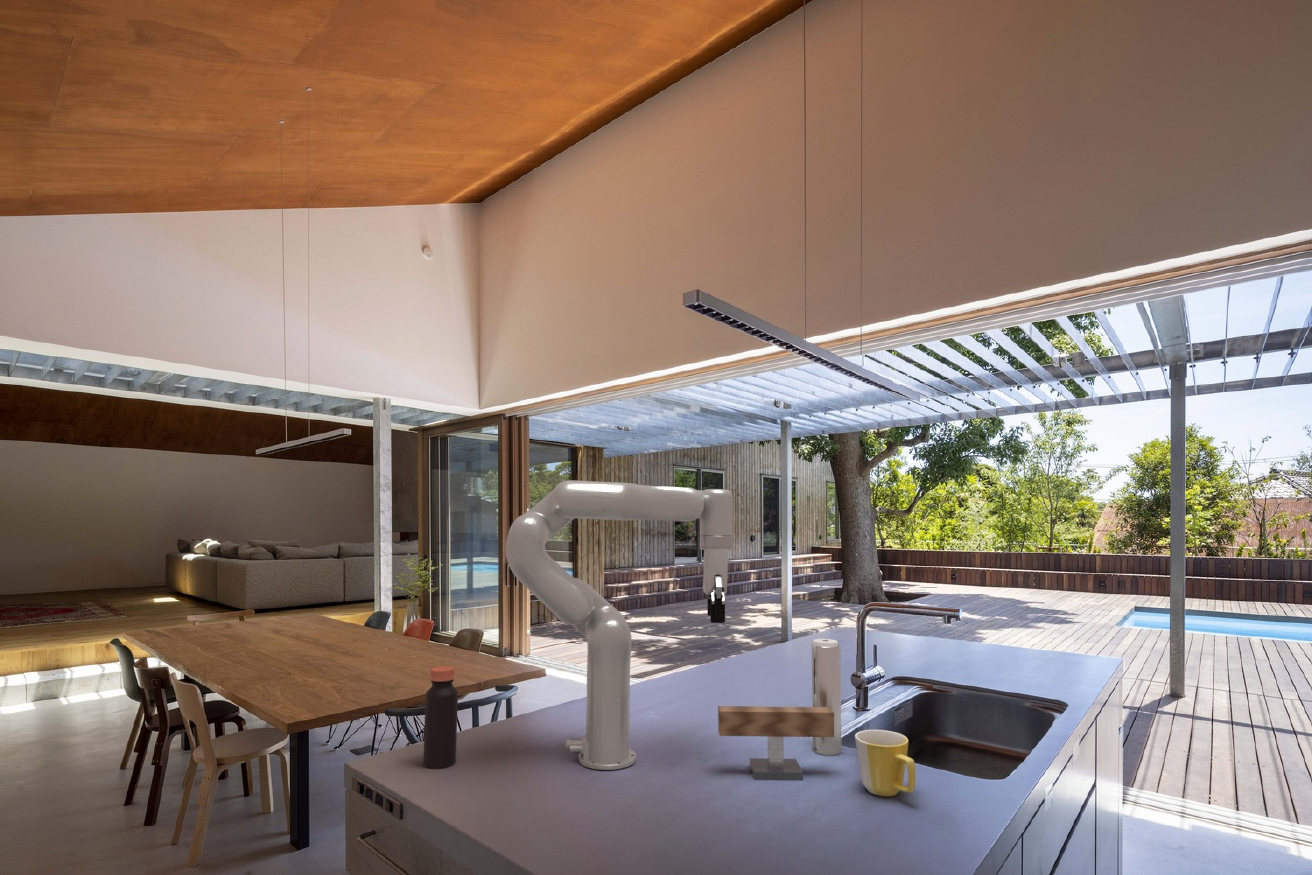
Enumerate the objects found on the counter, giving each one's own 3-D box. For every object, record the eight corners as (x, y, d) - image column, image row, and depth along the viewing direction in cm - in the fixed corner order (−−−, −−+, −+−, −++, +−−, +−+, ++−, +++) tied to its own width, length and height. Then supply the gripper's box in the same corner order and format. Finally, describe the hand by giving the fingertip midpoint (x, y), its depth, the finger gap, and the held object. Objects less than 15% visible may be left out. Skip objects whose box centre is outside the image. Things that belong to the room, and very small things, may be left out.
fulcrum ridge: (754, 779, 151) (754, 739, 152) (749, 765, 159) (749, 727, 160) (803, 779, 151) (802, 739, 152) (795, 765, 159) (795, 727, 160)
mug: (846, 783, 150) (846, 730, 151) (892, 779, 152) (891, 727, 153) (879, 811, 137) (879, 752, 138) (929, 807, 139) (928, 749, 140)
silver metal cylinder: (842, 756, 165) (840, 643, 168) (812, 754, 167) (811, 641, 169) (840, 747, 172) (839, 638, 174) (812, 745, 173) (811, 636, 175)
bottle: (416, 765, 157) (419, 670, 159) (439, 756, 163) (442, 663, 165) (439, 771, 154) (443, 673, 156) (462, 761, 160) (465, 667, 162)
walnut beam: (719, 735, 154) (719, 711, 155) (718, 729, 158) (718, 705, 159) (834, 737, 154) (834, 712, 154) (829, 731, 158) (829, 707, 158)
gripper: (697, 540, 177) (697, 613, 176) (702, 545, 160) (701, 625, 158) (729, 541, 177) (728, 613, 176) (736, 545, 160) (736, 625, 158)
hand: (716, 619), depth 167 cm, fingers open, 9 cm apart
